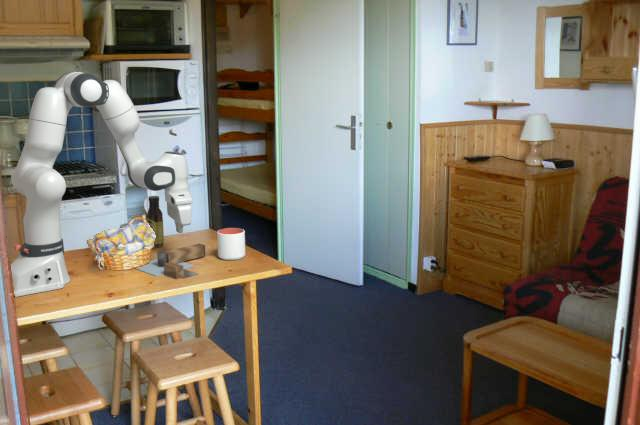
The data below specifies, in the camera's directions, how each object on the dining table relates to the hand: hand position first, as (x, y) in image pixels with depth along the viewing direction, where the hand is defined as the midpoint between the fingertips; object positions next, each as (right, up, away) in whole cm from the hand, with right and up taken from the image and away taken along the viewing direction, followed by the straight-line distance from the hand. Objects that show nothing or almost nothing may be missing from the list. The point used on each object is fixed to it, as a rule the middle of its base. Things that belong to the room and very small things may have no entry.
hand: (179, 232), depth 260 cm
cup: (+19, -9, 0) cm, 21 cm away
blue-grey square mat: (-4, -12, -11) cm, 17 cm away
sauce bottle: (-12, -6, +16) cm, 21 cm away
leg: (+2, -10, -6) cm, 12 cm away
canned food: (-19, -8, +6) cm, 22 cm away
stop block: (+5, -14, -20) cm, 25 cm away
